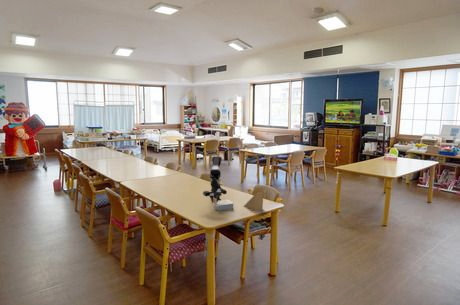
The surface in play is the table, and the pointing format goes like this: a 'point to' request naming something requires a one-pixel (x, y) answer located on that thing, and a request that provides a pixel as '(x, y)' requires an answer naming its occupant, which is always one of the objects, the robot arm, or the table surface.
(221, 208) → the tub
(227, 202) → the lid
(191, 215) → the table surface
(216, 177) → the robot arm
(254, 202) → the sandwich container
